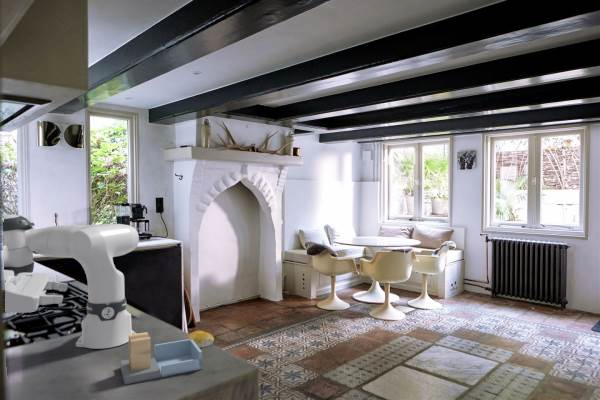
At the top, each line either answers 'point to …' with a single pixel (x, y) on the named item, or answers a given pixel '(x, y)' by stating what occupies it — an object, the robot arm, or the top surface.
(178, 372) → the tray
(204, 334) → the bread roll
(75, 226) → the robot arm
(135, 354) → the oak block
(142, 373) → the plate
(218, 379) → the top surface
